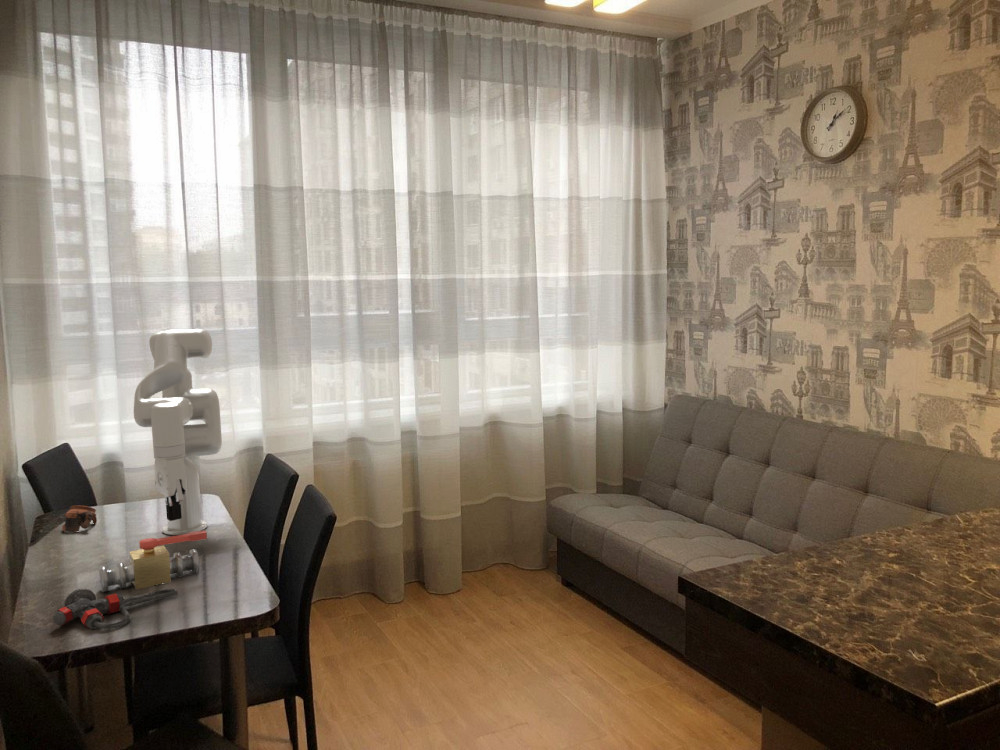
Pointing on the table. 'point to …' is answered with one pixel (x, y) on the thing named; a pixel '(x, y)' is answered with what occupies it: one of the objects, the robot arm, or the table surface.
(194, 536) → the lever
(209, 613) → the table surface
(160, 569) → the ball valve
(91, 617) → the valve
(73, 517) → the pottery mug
